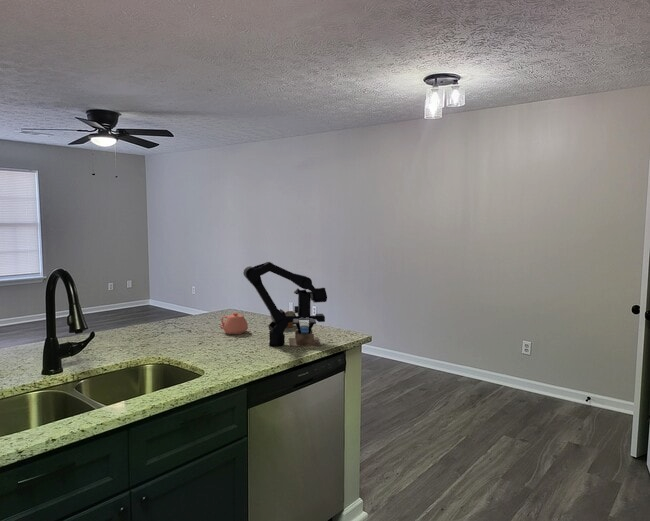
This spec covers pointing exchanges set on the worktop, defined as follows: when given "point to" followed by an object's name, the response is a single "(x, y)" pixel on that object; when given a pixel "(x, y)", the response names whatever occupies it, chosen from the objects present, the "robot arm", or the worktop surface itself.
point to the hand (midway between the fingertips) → (304, 336)
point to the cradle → (304, 340)
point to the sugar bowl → (234, 324)
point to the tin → (292, 321)
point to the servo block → (304, 329)
